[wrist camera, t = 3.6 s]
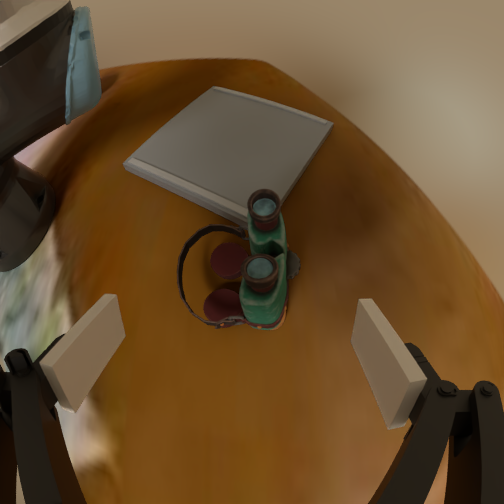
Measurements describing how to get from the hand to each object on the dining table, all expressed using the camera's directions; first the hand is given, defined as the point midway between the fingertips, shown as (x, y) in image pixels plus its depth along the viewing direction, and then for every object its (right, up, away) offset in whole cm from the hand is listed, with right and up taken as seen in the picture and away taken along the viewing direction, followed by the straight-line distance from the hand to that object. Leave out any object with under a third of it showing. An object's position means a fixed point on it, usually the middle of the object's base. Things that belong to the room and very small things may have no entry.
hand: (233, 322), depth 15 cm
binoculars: (0, 0, +12) cm, 12 cm away
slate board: (-2, +17, +20) cm, 27 cm away
